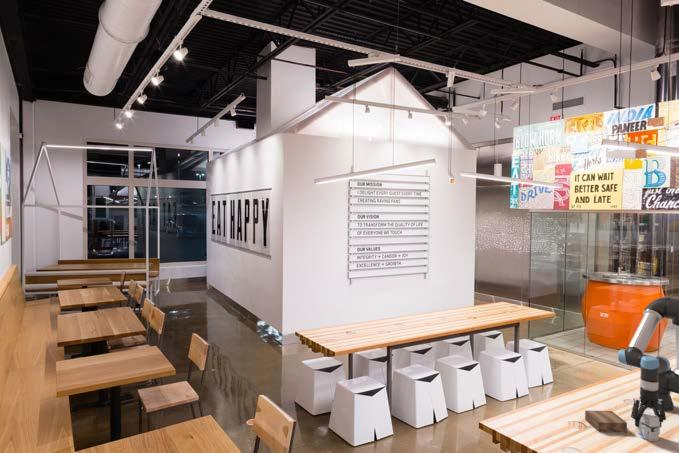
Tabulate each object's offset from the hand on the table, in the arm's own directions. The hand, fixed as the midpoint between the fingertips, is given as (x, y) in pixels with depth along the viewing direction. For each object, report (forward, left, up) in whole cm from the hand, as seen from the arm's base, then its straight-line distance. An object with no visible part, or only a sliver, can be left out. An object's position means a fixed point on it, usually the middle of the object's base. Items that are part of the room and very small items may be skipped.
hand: (647, 433), depth 230 cm
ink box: (0, 0, -2) cm, 2 cm away
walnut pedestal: (+15, -11, -2) cm, 19 cm away
